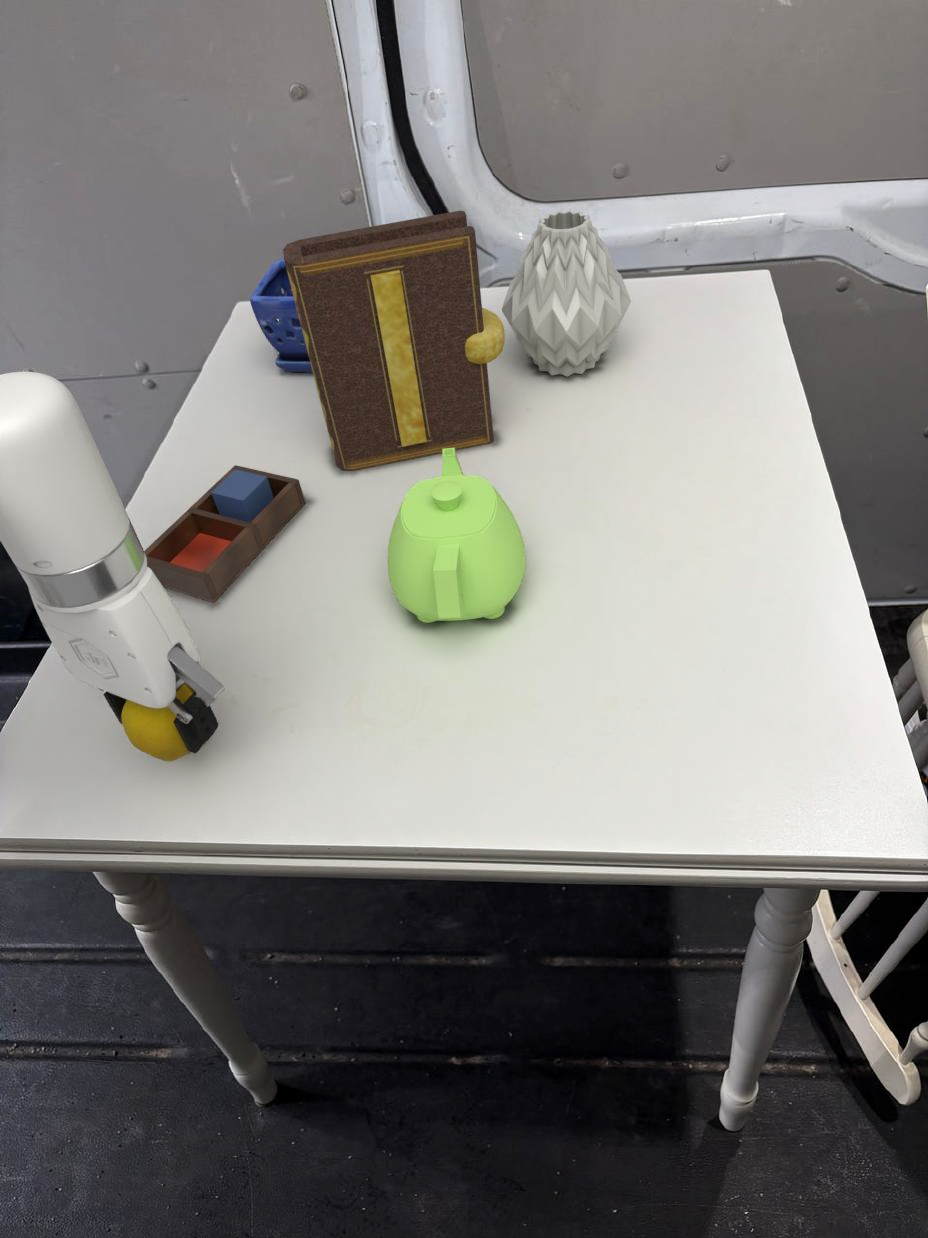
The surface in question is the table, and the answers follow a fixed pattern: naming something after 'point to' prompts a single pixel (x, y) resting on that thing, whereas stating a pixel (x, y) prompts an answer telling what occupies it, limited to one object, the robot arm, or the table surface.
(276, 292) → the flower pot
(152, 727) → the apple
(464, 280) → the book
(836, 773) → the table surface
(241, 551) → the tray
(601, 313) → the vase
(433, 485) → the teapot
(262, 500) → the blue block
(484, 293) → the table surface
